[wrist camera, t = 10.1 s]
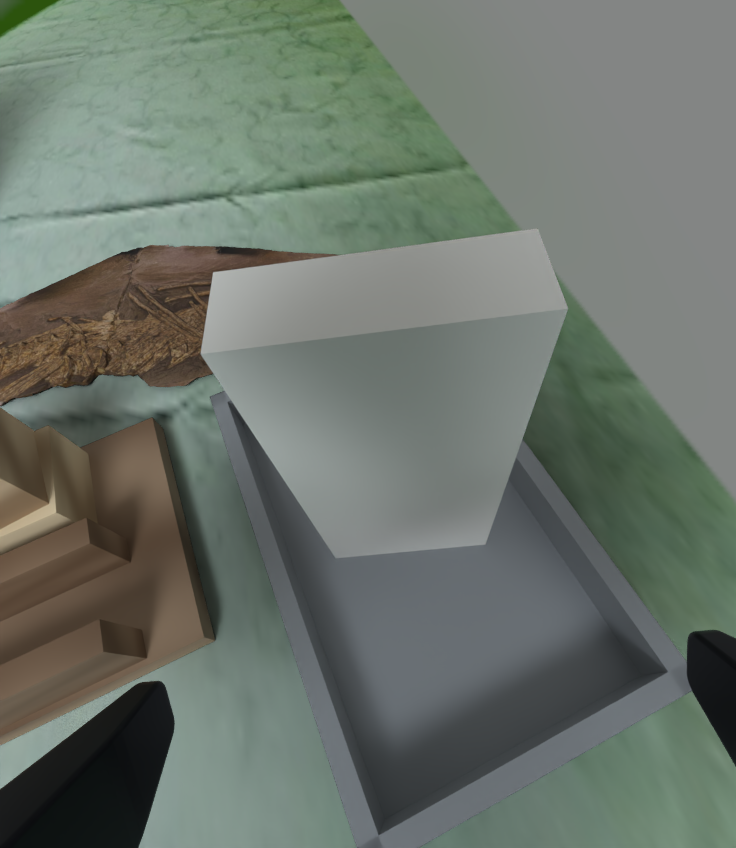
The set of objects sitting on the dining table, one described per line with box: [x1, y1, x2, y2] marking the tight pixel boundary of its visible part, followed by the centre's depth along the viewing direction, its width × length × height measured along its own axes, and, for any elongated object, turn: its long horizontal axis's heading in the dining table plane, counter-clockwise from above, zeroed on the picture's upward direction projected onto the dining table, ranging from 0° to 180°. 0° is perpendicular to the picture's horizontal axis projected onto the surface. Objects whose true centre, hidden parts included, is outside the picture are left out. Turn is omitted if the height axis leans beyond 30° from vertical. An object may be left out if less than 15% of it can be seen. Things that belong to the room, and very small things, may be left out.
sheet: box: [201, 229, 568, 558], centre depth 13 cm, size 2×6×12 cm, turn 94°
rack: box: [0, 418, 215, 745], centre depth 17 cm, size 10×12×4 cm
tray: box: [210, 391, 692, 848], centre depth 17 cm, size 16×10×2 cm, turn 24°
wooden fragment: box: [0, 245, 338, 406], centre depth 26 cm, size 26×11×1 cm, turn 94°
